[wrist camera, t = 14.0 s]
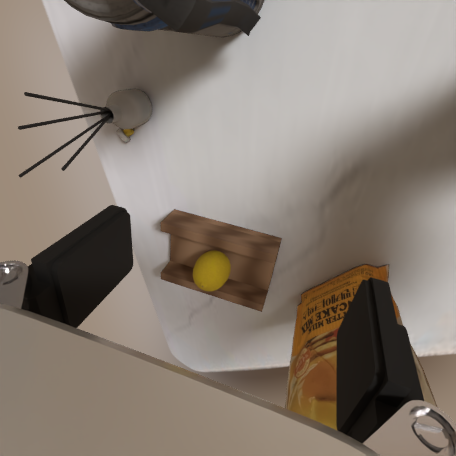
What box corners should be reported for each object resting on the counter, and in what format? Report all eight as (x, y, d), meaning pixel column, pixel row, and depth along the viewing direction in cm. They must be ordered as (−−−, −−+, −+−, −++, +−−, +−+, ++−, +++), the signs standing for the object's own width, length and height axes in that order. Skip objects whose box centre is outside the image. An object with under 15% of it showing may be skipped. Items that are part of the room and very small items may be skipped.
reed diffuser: (134, 64, 40) (-11, 73, 23) (177, 93, 40) (65, 122, 23) (115, 131, 45) (-10, 176, 29) (154, 156, 45) (50, 215, 29)
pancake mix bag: (416, 281, 42) (509, 552, 19) (307, 325, 53) (284, 535, 30) (388, 248, 41) (453, 494, 18) (282, 299, 52) (238, 498, 29)
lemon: (240, 267, 49) (225, 301, 43) (211, 270, 52) (192, 301, 45) (230, 239, 47) (213, 269, 41) (200, 243, 49) (179, 272, 43)
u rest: (281, 238, 46) (276, 255, 42) (267, 292, 52) (261, 311, 48) (174, 209, 49) (160, 222, 45) (173, 263, 55) (160, 279, 51)
